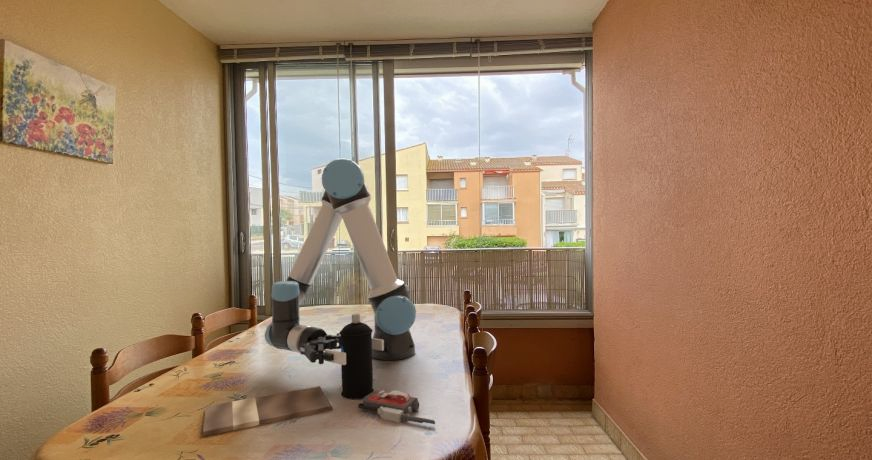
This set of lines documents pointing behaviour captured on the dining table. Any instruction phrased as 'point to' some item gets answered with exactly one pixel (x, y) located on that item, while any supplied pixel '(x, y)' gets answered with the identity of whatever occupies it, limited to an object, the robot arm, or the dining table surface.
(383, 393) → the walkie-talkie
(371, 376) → the aerosol can
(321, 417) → the dining table surface
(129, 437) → the dining table surface
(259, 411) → the board
